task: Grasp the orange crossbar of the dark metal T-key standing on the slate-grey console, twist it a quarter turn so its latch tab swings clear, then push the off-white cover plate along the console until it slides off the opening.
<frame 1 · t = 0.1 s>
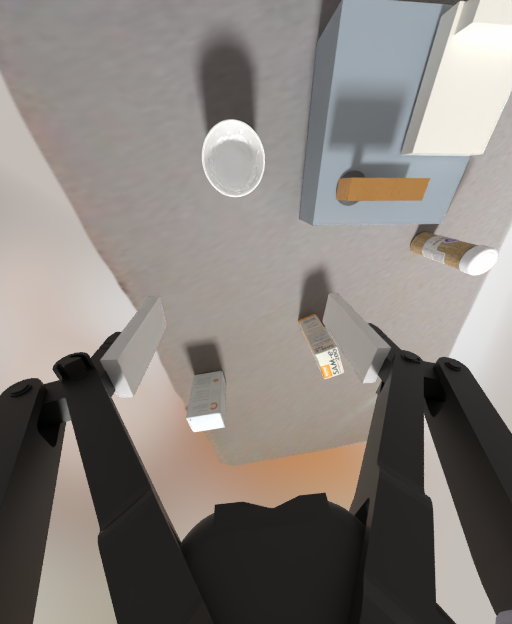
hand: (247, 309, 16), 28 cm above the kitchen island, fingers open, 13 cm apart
supplement box: (310, 327, 54), on the kitchen island
small box: (211, 379, 60), on the kitchen island
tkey: (381, 189, 27), point 13 cm above the kitchen island, hinge at 0.0°
cover: (472, 88, 24), point 10 cm above the kitchen island, slide at 0.0 cm
sprinkles bottle: (419, 242, 44), on the kitchen island
console: (370, 146, 35), on the kitchen island
white cup: (233, 167, 35), on the kitchen island
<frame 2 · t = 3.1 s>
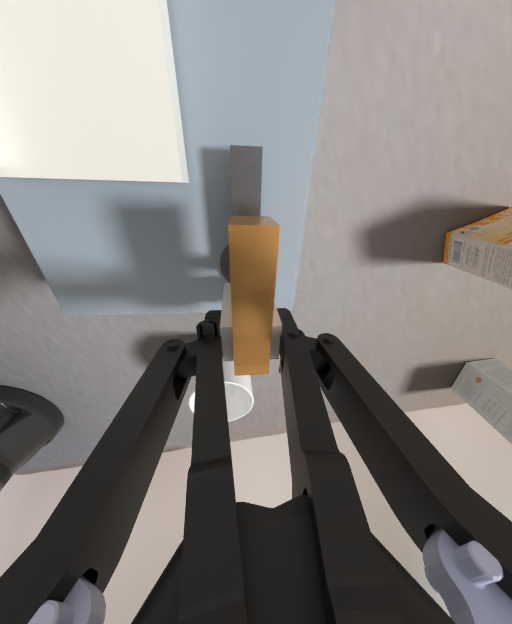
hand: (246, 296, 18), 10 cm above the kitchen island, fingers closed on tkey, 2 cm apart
supplement box: (472, 235, 28), on the kitchen island
small box: (470, 372, 43), on the kitchen island
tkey: (248, 260, 13), point 13 cm above the kitchen island, hinge at 0.0°, touching gripper
cover: (35, 53, 10), point 11 cm above the kitchen island, slide at 0.0 cm
console: (184, 183, 22), on the kitchen island
white cup: (224, 348, 34), on the kitchen island
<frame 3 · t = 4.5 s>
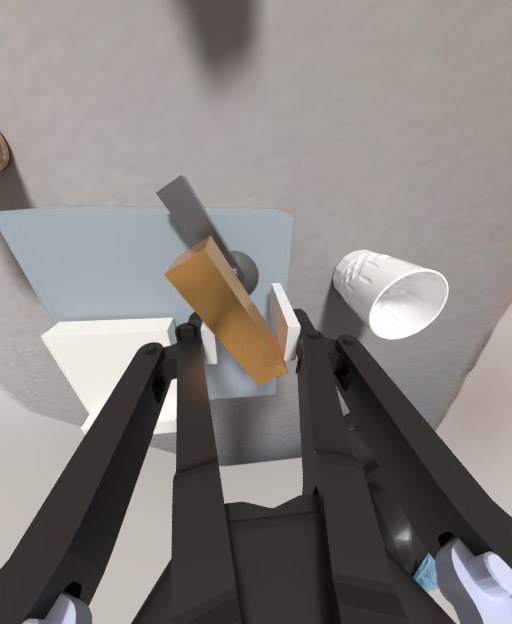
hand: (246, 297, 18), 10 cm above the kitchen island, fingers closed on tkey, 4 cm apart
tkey: (221, 279, 14), point 13 cm above the kitchen island, hinge at 60.3°, touching gripper
cover: (127, 381, 21), point 11 cm above the kitchen island, slide at 0.0 cm
console: (190, 297, 28), on the kitchen island
white cup: (354, 273, 29), on the kitchen island
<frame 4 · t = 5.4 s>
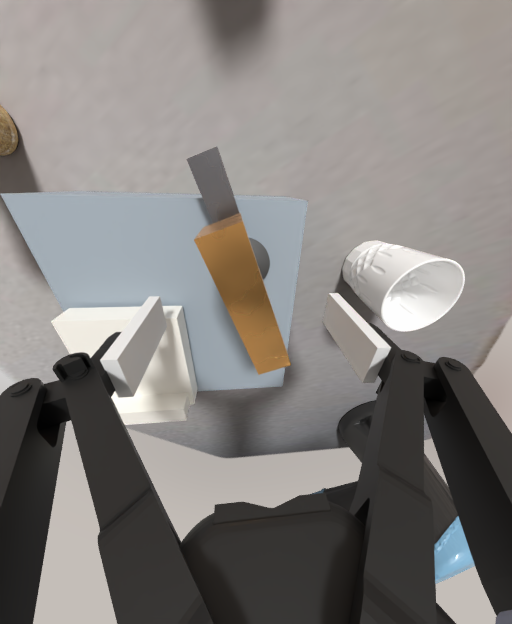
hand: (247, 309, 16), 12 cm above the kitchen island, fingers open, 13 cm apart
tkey: (239, 261, 13), point 13 cm above the kitchen island, hinge at 70.3°
cover: (135, 369, 21), point 11 cm above the kitchen island, slide at 0.0 cm
console: (197, 287, 28), on the kitchen island
white cup: (364, 264, 29), on the kitchen island
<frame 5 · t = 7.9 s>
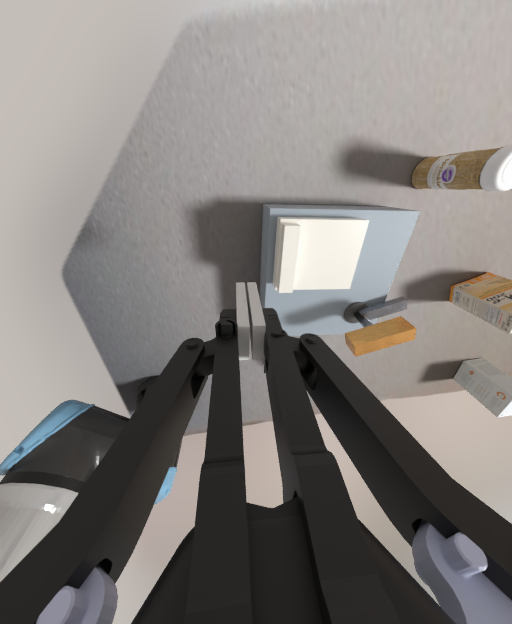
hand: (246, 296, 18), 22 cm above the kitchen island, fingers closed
supplement box: (466, 286, 48), on the kitchen island
small box: (466, 367, 63), on the kitchen island
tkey: (380, 324, 34), point 13 cm above the kitchen island, hinge at 70.8°
cover: (318, 257, 30), point 10 cm above the kitchen island, slide at 0.0 cm
sprinkles bottle: (423, 173, 35), on the kitchen island
console: (315, 266, 41), on the kitchen island
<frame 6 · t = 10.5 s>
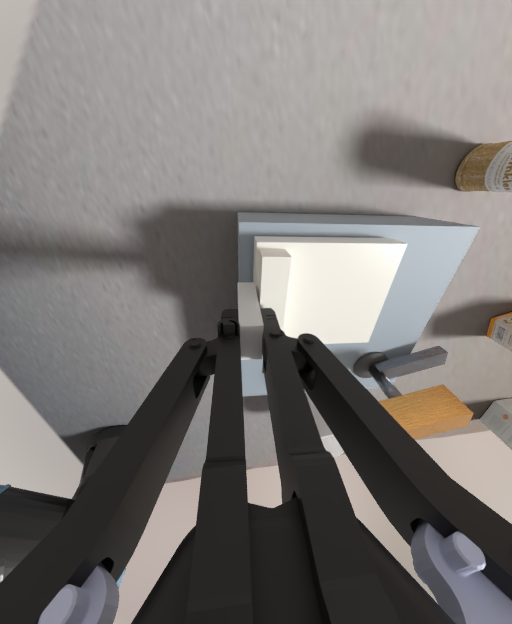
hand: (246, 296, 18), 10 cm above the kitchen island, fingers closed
supplement box: (510, 318, 37), on the kitchen island
small box: (496, 407, 52), on the kitchen island
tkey: (409, 391, 23), point 13 cm above the kitchen island, hinge at 70.8°
cover: (321, 300, 18), point 10 cm above the kitchen island, slide at 0.3 cm, touching gripper
sprinkles bottle: (472, 169, 24), on the kitchen island
console: (313, 296, 30), on the kitchen island
white cup: (307, 395, 43), on the kitchen island
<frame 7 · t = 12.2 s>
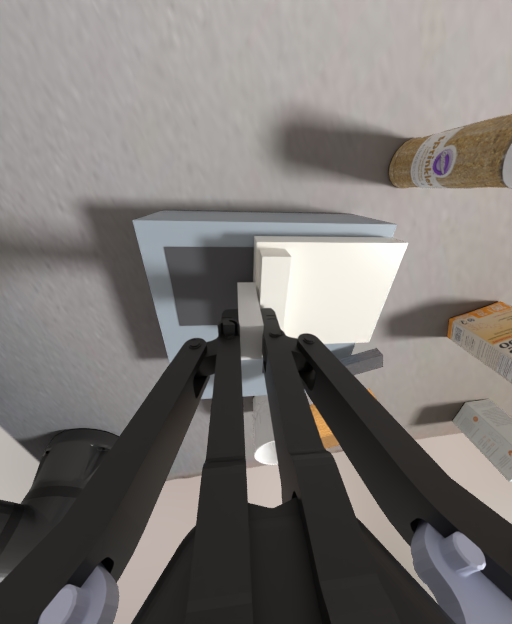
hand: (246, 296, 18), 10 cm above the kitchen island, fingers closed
supplement box: (470, 318, 36), on the kitchen island
small box: (469, 409, 51), on the kitchen island
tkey: (339, 395, 22), point 13 cm above the kitchen island, hinge at 70.8°
cover: (322, 300, 18), point 11 cm above the kitchen island, slide at 8.5 cm, touching gripper
sprinkles bottle: (406, 165, 23), on the kitchen island
console: (258, 297, 29), on the kitchen island
white cup: (269, 397, 42), on the kitchen island
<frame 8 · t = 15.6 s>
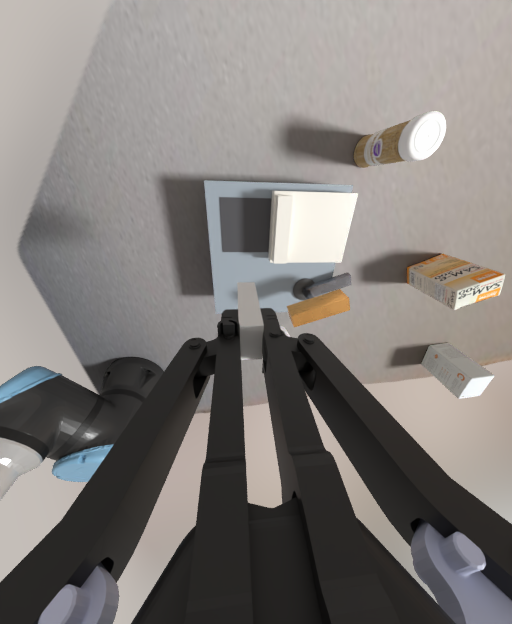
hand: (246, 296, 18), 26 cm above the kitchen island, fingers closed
supplement box: (422, 268, 49), on the kitchen island
small box: (433, 352, 64), on the kitchen island
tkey: (322, 297, 35), point 13 cm above the kitchen island, hinge at 70.8°
cover: (311, 230, 31), point 10 cm above the kitchen island, slide at 8.7 cm
sprinkles bottle: (365, 152, 36), on the kitchen island
console: (268, 246, 42), on the kitchen island
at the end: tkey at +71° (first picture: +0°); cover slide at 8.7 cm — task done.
